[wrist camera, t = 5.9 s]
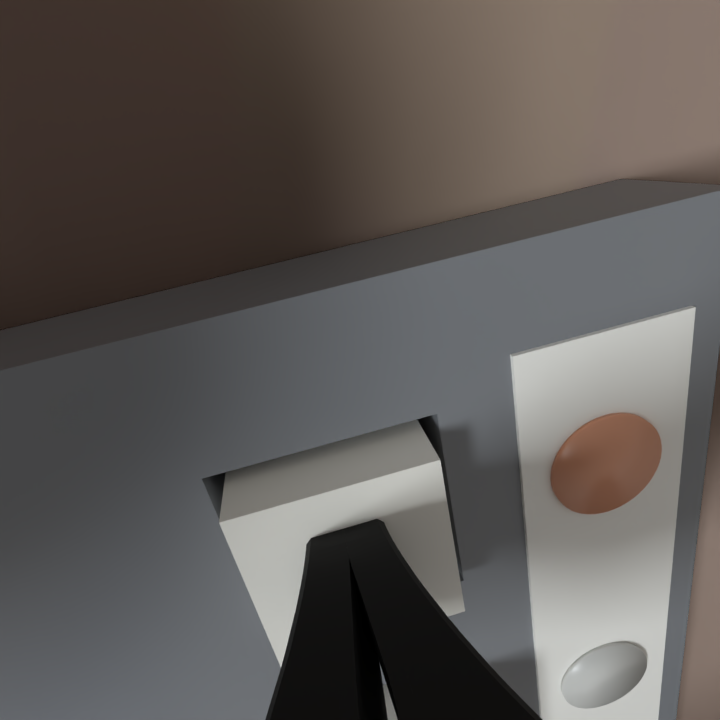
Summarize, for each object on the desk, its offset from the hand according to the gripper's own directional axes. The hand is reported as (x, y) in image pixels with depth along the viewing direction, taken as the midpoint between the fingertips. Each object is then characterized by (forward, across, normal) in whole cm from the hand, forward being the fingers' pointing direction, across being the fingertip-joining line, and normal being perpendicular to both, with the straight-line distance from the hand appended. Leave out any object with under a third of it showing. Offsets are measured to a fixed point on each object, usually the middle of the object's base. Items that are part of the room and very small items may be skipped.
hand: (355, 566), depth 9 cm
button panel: (+4, 0, +7) cm, 8 cm away
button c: (+3, 0, 0) cm, 3 cm away
